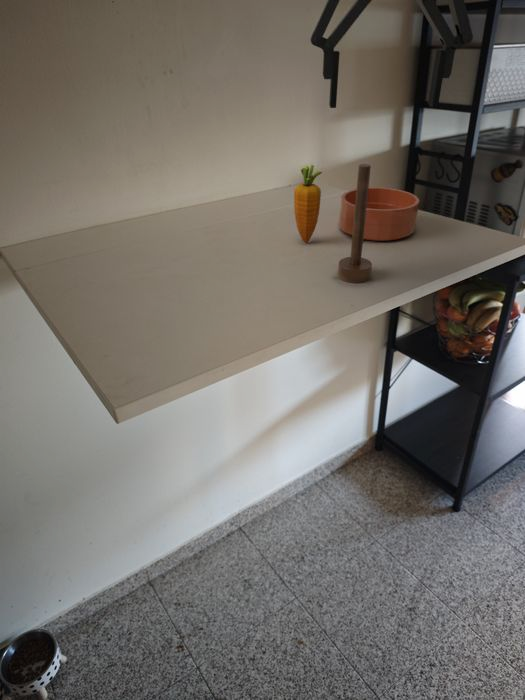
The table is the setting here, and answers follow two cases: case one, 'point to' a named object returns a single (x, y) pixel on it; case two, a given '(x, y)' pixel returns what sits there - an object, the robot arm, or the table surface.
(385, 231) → the bowl
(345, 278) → the dark brown rod
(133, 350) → the table surface
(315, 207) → the carrot
